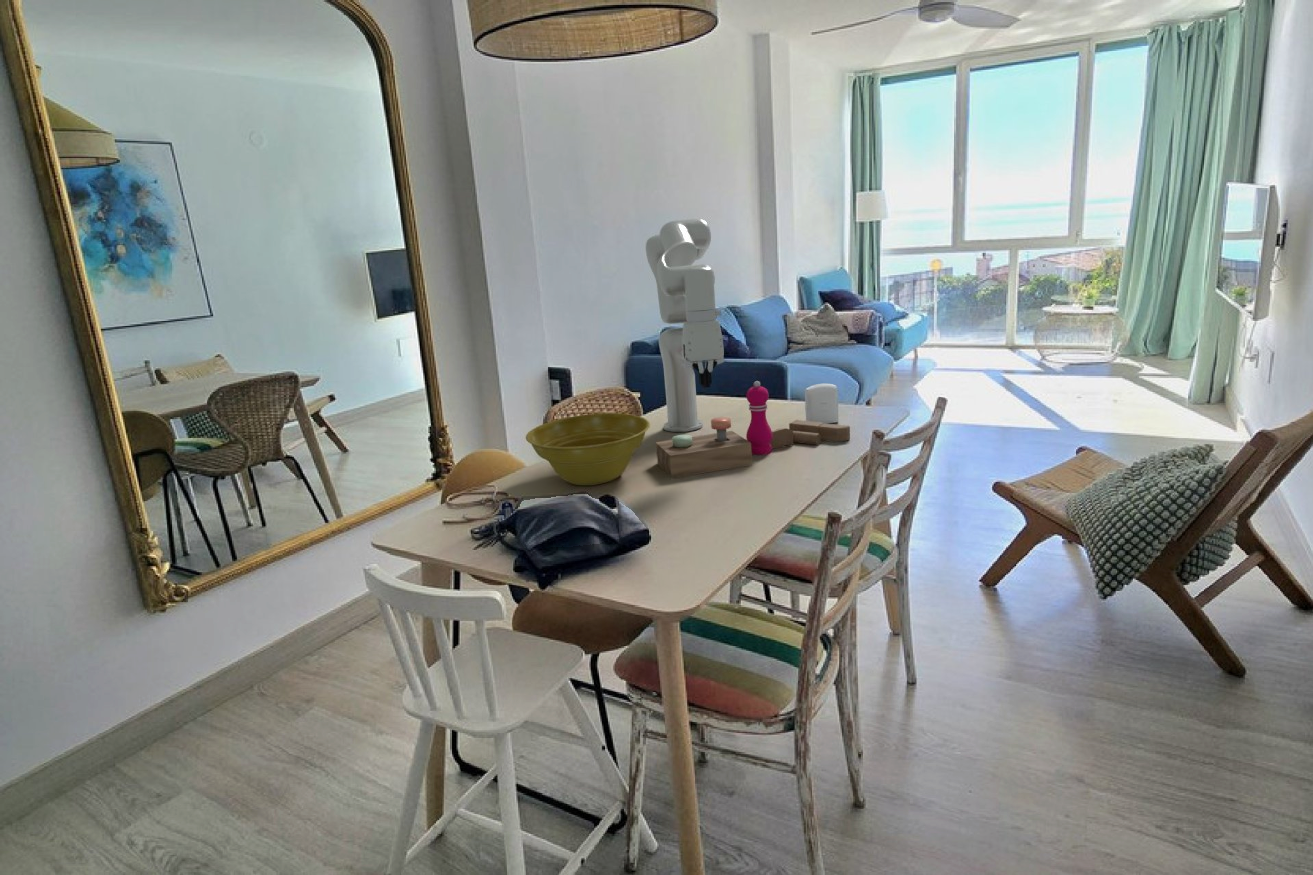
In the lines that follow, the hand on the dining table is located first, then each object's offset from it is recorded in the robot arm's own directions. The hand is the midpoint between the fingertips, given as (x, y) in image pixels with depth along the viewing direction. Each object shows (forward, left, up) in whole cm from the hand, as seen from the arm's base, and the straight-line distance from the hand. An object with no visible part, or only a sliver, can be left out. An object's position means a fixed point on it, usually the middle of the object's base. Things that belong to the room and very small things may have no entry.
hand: (705, 386), depth 196 cm
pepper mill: (-3, +16, -21) cm, 26 cm away
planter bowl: (-4, -31, -21) cm, 38 cm away
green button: (0, -7, -20) cm, 21 cm away
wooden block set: (-3, +30, -22) cm, 37 cm away
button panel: (0, -2, -21) cm, 21 cm away
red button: (0, +4, -17) cm, 17 cm away
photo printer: (-21, +44, -21) cm, 53 cm away
